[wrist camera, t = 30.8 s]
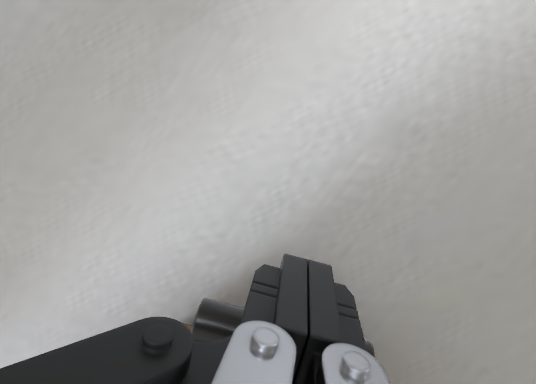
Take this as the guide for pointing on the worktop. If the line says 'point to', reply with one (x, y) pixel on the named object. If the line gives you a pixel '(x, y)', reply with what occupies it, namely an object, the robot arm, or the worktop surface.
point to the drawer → (223, 322)
